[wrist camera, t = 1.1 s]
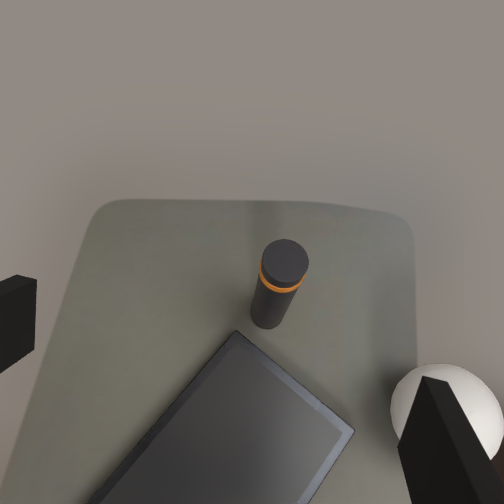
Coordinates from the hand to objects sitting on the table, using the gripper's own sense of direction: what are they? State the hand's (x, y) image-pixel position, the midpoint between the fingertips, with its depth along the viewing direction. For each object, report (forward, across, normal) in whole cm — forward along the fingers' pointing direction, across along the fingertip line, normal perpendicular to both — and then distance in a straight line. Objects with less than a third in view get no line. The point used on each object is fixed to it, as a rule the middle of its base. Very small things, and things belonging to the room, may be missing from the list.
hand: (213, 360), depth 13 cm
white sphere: (+18, +16, -12) cm, 27 cm away
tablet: (+12, 0, -17) cm, 21 cm away
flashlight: (+21, +1, -7) cm, 22 cm away
